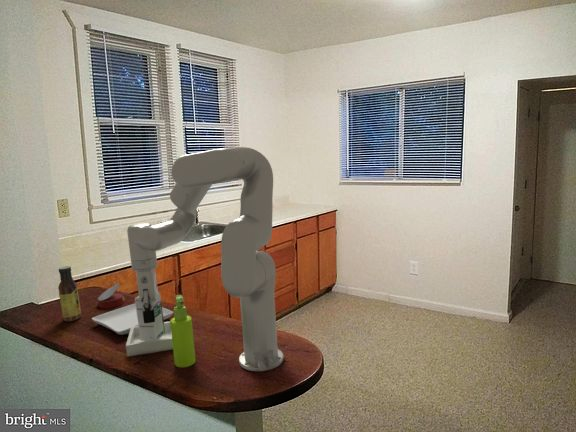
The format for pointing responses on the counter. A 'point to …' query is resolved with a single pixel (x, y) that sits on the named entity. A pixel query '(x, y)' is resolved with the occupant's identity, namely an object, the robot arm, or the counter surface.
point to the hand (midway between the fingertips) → (150, 317)
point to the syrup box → (155, 328)
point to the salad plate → (123, 319)
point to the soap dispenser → (182, 335)
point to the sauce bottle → (68, 295)
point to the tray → (148, 342)
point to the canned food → (111, 298)
